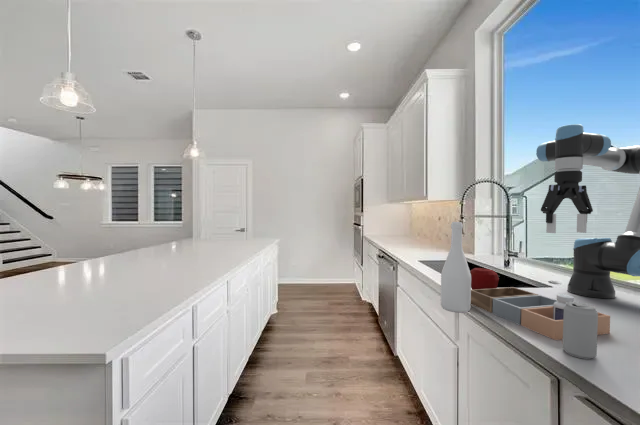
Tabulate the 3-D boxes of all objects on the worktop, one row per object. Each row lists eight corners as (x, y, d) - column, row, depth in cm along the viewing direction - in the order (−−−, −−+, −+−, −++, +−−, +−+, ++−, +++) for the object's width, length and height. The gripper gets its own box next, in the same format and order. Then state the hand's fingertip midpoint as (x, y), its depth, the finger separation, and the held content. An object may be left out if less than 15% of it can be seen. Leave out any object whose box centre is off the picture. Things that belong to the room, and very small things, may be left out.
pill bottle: (580, 333, 89) (581, 299, 89) (558, 332, 90) (559, 297, 90) (569, 326, 95) (570, 294, 95) (549, 325, 96) (550, 292, 96)
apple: (504, 299, 123) (505, 268, 122) (479, 300, 121) (480, 269, 121) (485, 291, 133) (486, 263, 133) (462, 292, 132) (462, 264, 132)
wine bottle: (472, 315, 104) (474, 223, 103) (441, 311, 107) (442, 222, 106) (468, 306, 113) (470, 221, 112) (440, 303, 116) (441, 221, 115)
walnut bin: (512, 300, 121) (513, 287, 121) (538, 308, 111) (538, 294, 111) (469, 303, 116) (469, 289, 116) (491, 312, 106) (491, 298, 106)
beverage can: (555, 348, 80) (557, 300, 80) (579, 347, 80) (581, 300, 80) (578, 360, 73) (580, 309, 73) (604, 360, 74) (605, 308, 74)
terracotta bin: (571, 320, 100) (571, 304, 100) (609, 333, 90) (610, 315, 90) (521, 325, 95) (521, 308, 95) (555, 340, 85) (555, 321, 85)
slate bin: (539, 309, 111) (539, 294, 111) (570, 319, 100) (570, 304, 100) (492, 313, 106) (492, 298, 106) (519, 325, 96) (520, 308, 95)
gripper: (584, 173, 116) (582, 231, 117) (529, 170, 110) (527, 232, 110) (607, 171, 109) (605, 233, 110) (550, 168, 103) (548, 234, 103)
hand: (566, 232), depth 110 cm, fingers open, 13 cm apart
